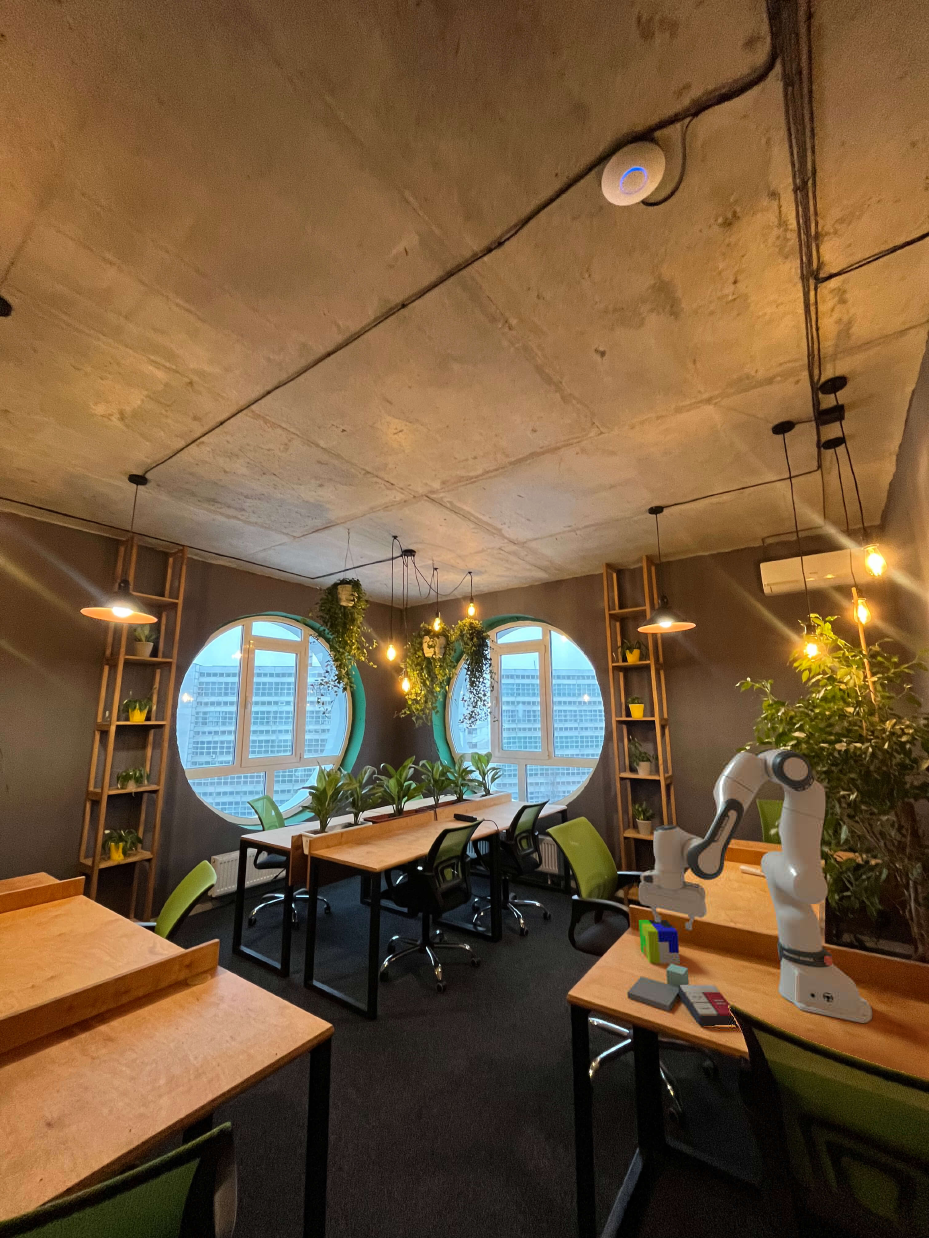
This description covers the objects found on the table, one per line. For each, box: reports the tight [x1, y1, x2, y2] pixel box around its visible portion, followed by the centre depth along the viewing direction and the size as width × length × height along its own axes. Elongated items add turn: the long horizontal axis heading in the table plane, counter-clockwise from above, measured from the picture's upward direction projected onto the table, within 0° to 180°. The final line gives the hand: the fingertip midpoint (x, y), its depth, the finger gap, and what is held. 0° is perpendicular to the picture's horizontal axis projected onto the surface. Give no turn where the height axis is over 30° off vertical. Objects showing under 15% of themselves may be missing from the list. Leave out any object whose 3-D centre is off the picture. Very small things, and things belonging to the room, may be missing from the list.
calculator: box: [678, 984, 739, 1028], centre depth 144 cm, size 11×4×15 cm
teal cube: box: [665, 963, 690, 987], centre depth 158 cm, size 5×5×5 cm
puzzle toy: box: [638, 919, 681, 965], centre depth 178 cm, size 10×10×10 cm
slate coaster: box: [627, 975, 679, 1012], centre depth 152 cm, size 12×12×2 cm
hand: (673, 925), depth 161 cm, fingers open, 8 cm apart
